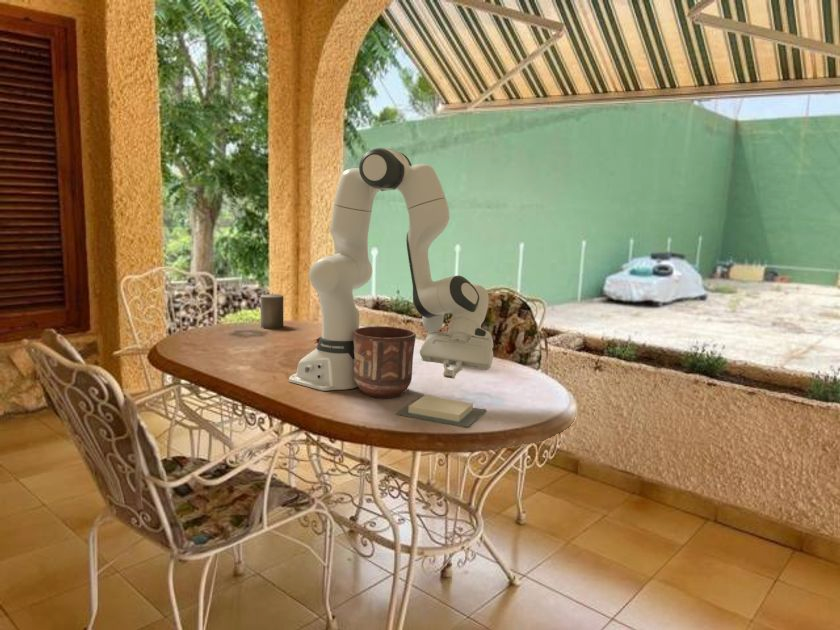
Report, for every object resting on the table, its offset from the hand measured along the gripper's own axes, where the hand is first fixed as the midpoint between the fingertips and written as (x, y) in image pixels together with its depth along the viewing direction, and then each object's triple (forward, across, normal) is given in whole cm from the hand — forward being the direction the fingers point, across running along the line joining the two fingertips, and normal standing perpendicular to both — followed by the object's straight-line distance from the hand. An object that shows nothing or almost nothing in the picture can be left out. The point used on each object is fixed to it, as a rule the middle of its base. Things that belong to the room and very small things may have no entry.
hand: (448, 376), depth 168 cm
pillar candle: (-40, -106, +53) cm, 125 cm away
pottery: (+3, -22, +10) cm, 24 cm away
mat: (+9, 0, +4) cm, 10 cm away
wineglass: (-29, -25, +42) cm, 56 cm away
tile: (+5, 0, +6) cm, 8 cm away
